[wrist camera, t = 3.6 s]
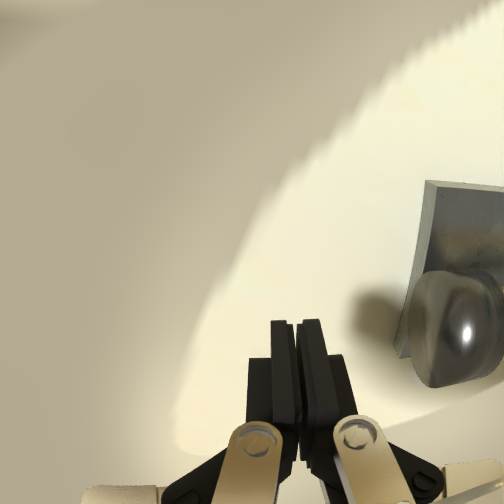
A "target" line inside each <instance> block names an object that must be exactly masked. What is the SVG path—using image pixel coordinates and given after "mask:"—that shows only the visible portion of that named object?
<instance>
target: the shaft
mask: <svg viewBox="0 0 504 504" xmlns="http://www.w3.org/2000/svg"><path fill="white" fill-rule="evenodd" d="M408 343H409V350H410V355H411V359H412V363H413V366H414V369H415V371H416V373H417V375H418V377H419V378H420V380H421V381H422V382H423V383H424V384H425V385H426V386H428V387H430V388H439V387H444V386H449V385H453V384H457V383H462V382H466V381H470V380H474V379H478V378H481V377H484V376H487V375H489V374H490V373H491V372H493V371H494V370H495V369H496V367H497V366H498V365H499V363H500V361H501V360H502V357H503V355H504V287H501V286H500V284H499V283H498V281H497V280H496V279H495V278H494V276H493V275H491V274H490V273H489V272H487V271H485V270H483V269H462V270H444V271H430V272H426V273H425V274H423V275H422V276H421V277H420V278H419V280H418V281H417V283H416V285H415V287H414V290H413V292H412V296H411V300H410V305H409V312H408Z"/></svg>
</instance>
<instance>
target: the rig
mask: <svg viewBox="0 0 504 504" xmlns="http://www.w3.org/2000/svg"><path fill="white" fill-rule="evenodd" d="M462 269H483V270H485V271H487V272H489V273H490V274H491V275H493V276H494V278H495V279H496V280H497V281H498V283H499V284H500V286H501V287H504V187H497V186H488V185H479V184H469V183H458V182H446V181H432V180H425V189H424V198H423V206H422V214H421V221H420V228H419V234H418V240H417V246H416V252H415V257H414V263H413V268H412V273H411V278H410V282H409V287H408V291H407V296H406V300H405V304H404V308H403V312H402V316H401V320H400V324H399V328H398V332H397V335H396V339H395V342H394V348H395V350H396V352H397V354H398V357H399V359H401V358H408V357H411V355H410V350H409V343H408V312H409V305H410V300H411V296H412V292H413V290H414V287H415V285H416V283H417V281H418V280H419V278H420V277H421V276H422V275H423V274H425V273H426V272H430V271H444V270H462Z"/></svg>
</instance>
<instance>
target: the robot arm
mask: <svg viewBox="0 0 504 504" xmlns="http://www.w3.org/2000/svg"><path fill="white" fill-rule="evenodd" d="M298 443H299V449H300V460H301V461H306V462H307V468H311V473H312V474H313V475H315V476H316V477H318V478H319V480H320V485H321V489H322V492H323V496H324V499H325V503H326V504H504V465H503V464H502V463H501V462H500V461H498V460H495V459H489V460H483V461H475V462H467V463H458V464H446V465H445V466H444V467H436V466H435V465H433V464H431V463H429V462H427V461H425V460H423V459H421V458H419V457H417V456H415V455H413V454H411V453H409V452H407V451H405V450H403V449H401V448H399V447H397V446H395V445H393V444H391V443H390V442H388V441H387V440H386V438H385V435H384V433H383V431H382V429H381V427H380V426H379V424H378V423H377V422H376V421H375V420H373V419H372V418H370V417H367V416H364V415H358V411H357V407H356V403H355V399H354V396H353V392H352V388H351V384H350V380H349V376H348V373H347V369H346V365H345V362H344V358H343V356H342V354H338V355H328V354H327V350H326V346H325V341H324V337H323V333H322V328H321V324H320V320H319V319H304V320H303V324H297V333H296V348H295V339H294V331H293V324H287V322H286V320H274V321H271V358H249V368H248V388H247V408H246V423H244V424H243V425H241V426H239V427H238V428H237V429H235V430H234V431H233V433H232V435H231V437H230V440H229V444H228V447H227V448H225V449H224V450H223V451H221V452H220V453H218V454H217V455H215V456H214V457H212V458H211V459H209V460H208V461H206V462H205V463H203V464H202V465H200V466H199V467H197V468H196V469H194V470H193V471H191V472H190V473H188V474H186V475H185V476H183V477H182V478H180V479H178V480H177V481H175V482H174V483H172V484H171V485H169V486H168V487H156V485H143V486H112V485H111V486H110V485H97V486H92V487H90V488H88V489H87V490H86V491H85V493H84V494H83V497H82V502H81V504H276V503H277V497H278V491H279V485H280V483H282V482H283V481H284V480H285V479H286V478H287V477H288V476H290V475H291V470H292V463H293V461H296V457H297V450H298Z"/></svg>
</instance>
